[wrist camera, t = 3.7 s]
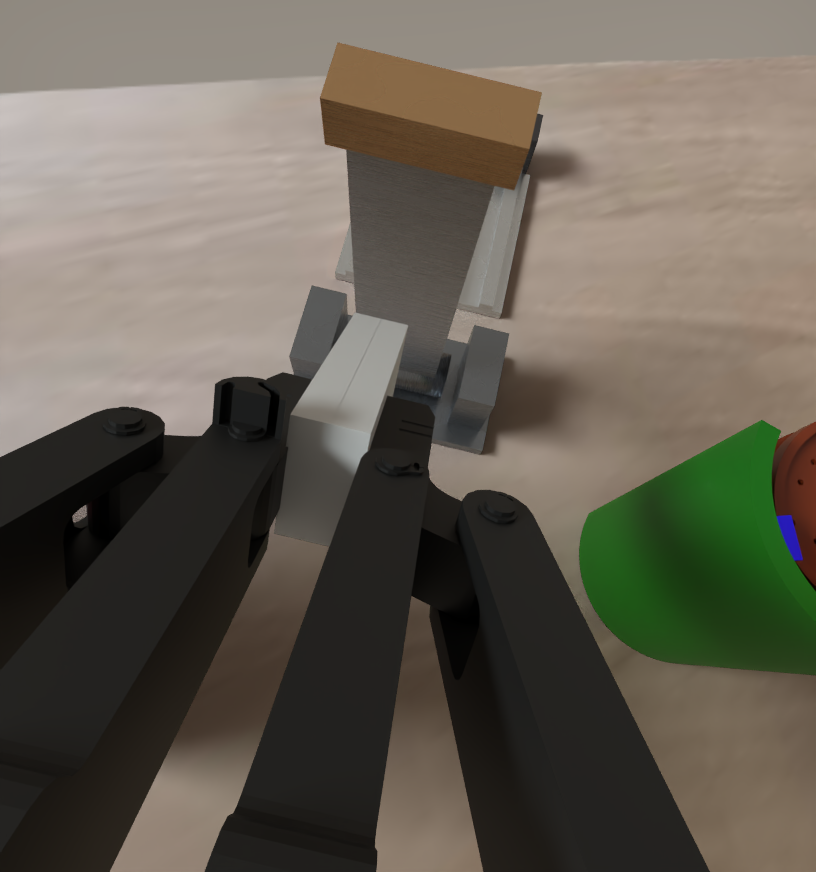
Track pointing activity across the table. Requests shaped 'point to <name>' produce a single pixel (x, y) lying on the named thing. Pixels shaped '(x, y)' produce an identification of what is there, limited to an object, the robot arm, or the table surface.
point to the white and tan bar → (420, 187)
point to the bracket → (470, 363)
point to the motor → (714, 557)
